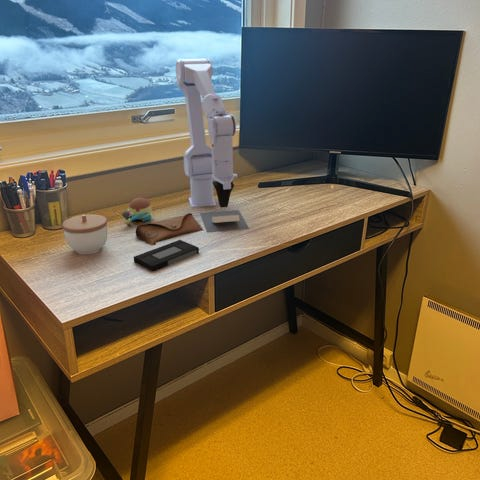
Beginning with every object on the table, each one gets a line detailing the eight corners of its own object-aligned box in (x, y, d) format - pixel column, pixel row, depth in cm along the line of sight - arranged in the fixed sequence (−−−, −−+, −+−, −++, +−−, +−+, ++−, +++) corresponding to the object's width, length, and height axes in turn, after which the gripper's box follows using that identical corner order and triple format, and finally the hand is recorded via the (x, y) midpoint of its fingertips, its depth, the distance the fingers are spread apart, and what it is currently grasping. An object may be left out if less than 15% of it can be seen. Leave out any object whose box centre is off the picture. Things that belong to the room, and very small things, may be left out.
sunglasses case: (150, 246, 124) (142, 222, 124) (140, 251, 130) (133, 228, 130) (207, 230, 134) (200, 207, 134) (196, 235, 140) (189, 214, 140)
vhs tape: (199, 254, 120) (199, 247, 119) (153, 273, 111) (152, 266, 110) (180, 246, 125) (179, 239, 124) (134, 264, 115) (133, 256, 115)
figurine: (118, 224, 143) (111, 204, 139) (147, 211, 147) (142, 191, 144) (128, 232, 137) (122, 211, 134) (159, 218, 142) (153, 198, 138)
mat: (200, 214, 146) (199, 212, 146) (238, 211, 148) (238, 210, 148) (206, 233, 132) (206, 232, 131) (249, 230, 134) (249, 228, 133)
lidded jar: (72, 242, 127) (67, 208, 123) (113, 240, 128) (109, 207, 124) (61, 259, 117) (55, 223, 114) (106, 257, 118) (101, 222, 114)
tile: (211, 216, 138) (214, 216, 132) (235, 214, 139) (239, 214, 134) (212, 222, 138) (214, 222, 132) (235, 220, 140) (239, 220, 134)
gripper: (241, 165, 126) (242, 213, 131) (232, 153, 139) (232, 197, 144) (215, 166, 125) (216, 215, 130) (207, 154, 138) (209, 199, 143)
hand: (223, 206), depth 137 cm, fingers closed
